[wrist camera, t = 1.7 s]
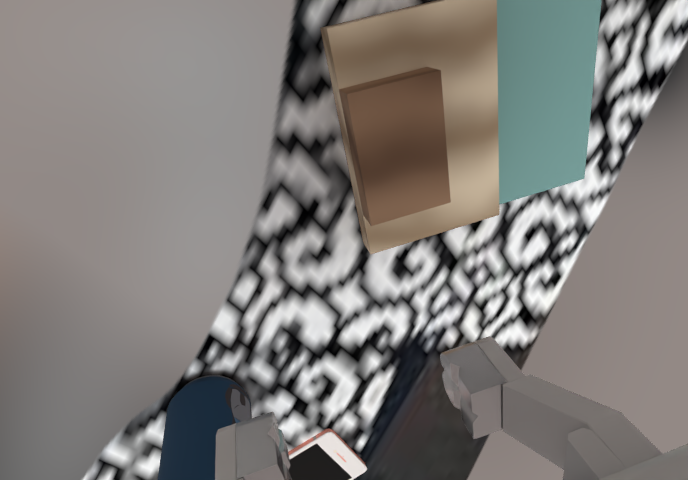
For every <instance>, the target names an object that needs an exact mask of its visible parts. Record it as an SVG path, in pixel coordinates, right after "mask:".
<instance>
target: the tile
mask: <svg viewBox="0 0 688 480" xmlns="http://www.w3.org/2000/svg"><path fill="white" fill-rule="evenodd" d="M339 93H340V98H341V103H342V108H343V114H344V119H345V124H346V129H347V134H348V139H349V145H350V150H351V155H352V160H353V165H354V170H355V176H356V181H357V186H358V191H359V196H360V201H361V207H362V212H363V215H364V217H365V218H366V220H367V221H368V222H369V224H370V225H371V226H374V225H377V224H380V223H384V222H387V221H390V220H394V219H397V218H400V217H404V216H407V215H410V214H414V213H417V212H420V211H424V210H427V209H430V208H434V207H437V206H440V205H444V204H447V203H450V202H451V198H450V185H449V172H448V158H447V145H446V132H445V119H444V105H443V92H442V79H441V70H438V69H434V68H430V67H425V68H421V69H417V70H413V71H409V72H405V73H401V74H397V75H393V76H390V77H386V78H382V79H378V80H374V81H370V82H366V83H362V84H358V85H354V86H350V87H347V88H343V89H339Z"/></svg>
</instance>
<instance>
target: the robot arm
mask: <svg viewBox="0 0 688 480" xmlns="http://www.w3.org/2000/svg"><path fill="white" fill-rule="evenodd" d="M440 357H441V364H442V365H443V367H444V368H445V370H444V372H443V374H442V376H443V382H444V385H445V389H446V392H447V394H448V396H449V398H450V400H451V402H452V403H453V405H454V406H455V407H457V408H459V409H461V416H462V420H463V422H464V424H465V425H466V427H467V429H468V430H469V432H470V433H471V435H472V437H473V438H474V439H476V438H479V437H482V436H485V435H488V434H491V433H493V432H496V431H499V430H502V429H503V431H504V432H505V433H507V434H508V435H510V436H511V437H513V438H515V439H516V440H518V441H519V442H521V443H522V444H524V445H526V446H527V447H529V448H531V449H532V450H533V451H535V452H537V453H538V454H540V455H541V456H543V457H545V458H546V459H548V460H549V461H551V462H552V463H554V464H555V465H557V466H559V467H560V468H562V469H563V470H564V476H563V480H688V444H686V445H683V446H681V447H679V448H676V449H673V450H671V451H669V452H666V453H664V454H662V453H661V452H660V451H659V450H658V449H657V448H656V447H655V446H654V445H653V444H652V443H651V442H650V441H649V440H648V439H647V438H646V437H645V436H644V435H643V434H642V433H641V432H640V431H639V430H638V429H637V428H636V427H635V426H634V425H633V424H632V423H631V422H630V421H629V420H628V419H627V418H626V417H625V416H624V415H623V414H622V413H621V412H619V411H617V410H614V409H612V408H610V407H607V406H604V405H602V404H600V403H598V402H595V401H593V400H590V399H588V398H586V397H583V396H581V395H578V394H576V393H574V392H571V391H568V390H566V389H564V388H562V387H559V386H557V385H554V384H552V383H550V382H547V381H545V380H542V379H540V378H538V377H535V376H533V375H527V376H525V375H524V374H523V373H522V371H521V370H520V369H519V368H518V367H517V366H516V364H515V363H514V362H513V361H512V360H511V359H510V357H509V356H508V355H507V354H506V353H505V352H504V350H503V349H502V348H501V347H500V346H499V344H498V343H497V342H496V341H495V340H494V339H493V338H492V337H490V336H489V337H486V338H483V339H480V340H477V341H475V342H471V343H468V344H465V345H463V346H460V347H457V348H454V349H451V350H449V351H446V352H443V353H441V356H440ZM289 467H290V459H289V454H288V449H287V445H286V442H285V438H284V435H283V433H282V431H281V430H280V429H278V424H277V419H276V417H275V414H274V412H270V413H267V414H264V415H261V416H257V417H254V418H251V419H248V420H245V421H242V422H238V423H236V424H233V425H230V426H227V427H224V428H220V429H218V431H217V434H216V458H215V480H292V478H291V475H290V473H289V471H288V470H289Z"/></svg>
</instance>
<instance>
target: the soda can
mask: <svg viewBox="0 0 688 480" xmlns="http://www.w3.org/2000/svg"><path fill="white" fill-rule="evenodd" d="M251 418H252V416H251V403H250V399H249V396H248V395H247V393H246V392H245V390H244V389H243V388H242V387H241V386H239V385H238V384H237V383H236V382H235V381H233V380H232V379H230V378H227V377H224V376H219V375H208V376H203V377H199V378H197V379H194V380H192V381H191V382H189V383H188V384H186V385H185V386H184V387H183V388H182V389H181V390H180V391H179V392H178V393H177V394H176V395H175V396H174V397H173V399H172V400H171V402H170V404H169V406H168V409H167V416H166V423H165V431H164V438H163V445H162V453H161V460H160V467H159V474H158V480H215V458H216V434H217V431H218V429H220V428H224V427H227V426H230V425H233V424H236V423H238V422H242V421H245V420H248V419H251Z"/></svg>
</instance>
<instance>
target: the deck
mask: <svg viewBox="0 0 688 480" xmlns="http://www.w3.org/2000/svg"><path fill="white" fill-rule="evenodd" d="M320 29H321V34H322V39H323V44H324V49H325V54H326V59H327V64H328V69H329V74H330V79H331V84H332V89H333V94H334V99H335V104H336V108H337V113H338V118H339V123H340V128H341V133H342V138H343V143H344V148H345V153H346V158H347V163H348V168H349V173H350V178H351V183H352V188H353V193H354V198H355V203H356V208H357V213H358V218H359V223H360V228H361V233H362V238H363V243H364V244H365V246H366V248H367V249H368V251H369V252H370V254H373V253H377V252H380V251H383V250H386V249H390V248H393V247H396V246H399V245H403V244H406V243H409V242H412V241H416V240H419V239H422V238H425V237H428V236H432V235H435V234H438V233H441V232H445V231H448V230H451V229H454V228H458V227H461V226H464V225H467V224H471V223H474V222H477V221H480V220H484V219H487V218H490V217H493V216H497V215H499V144H498V59H497V0H436V1H432V2H428V3H424V4H419V5H415V6H411V7H407V8H403V9H398V10H394V11H390V12H386V13H381V14H377V15H373V16H369V17H365V18H360V19H356V20H352V21H348V22H343V23H339V24H335V25H331V26H326V27H322V28H320ZM425 67H430V68H434V69H438V70H441V79H442V92H443V105H444V119H445V132H446V145H447V158H448V172H449V185H450V198H451V202H450V203H447V204H444V205H440V206H437V207H434V208H430V209H427V210H424V211H420V212H417V213H414V214H410V215H407V216H404V217H400V218H397V219H394V220H390V221H387V222H384V223H380V224H377V225H374V226H371V225H370V224H369V222H368V221H367V220H366V218H365V217H364V215H363V212H362V207H361V201H360V196H359V191H358V186H357V181H356V176H355V170H354V165H353V160H352V155H351V150H350V145H349V139H348V134H347V129H346V124H345V119H344V114H343V108H342V103H341V98H340V93H339V89H343V88H347V87H350V86H354V85H358V84H362V83H366V82H370V81H374V80H378V79H382V78H386V77H390V76H393V75H397V74H401V73H405V72H409V71H413V70H417V69H421V68H425Z"/></svg>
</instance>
